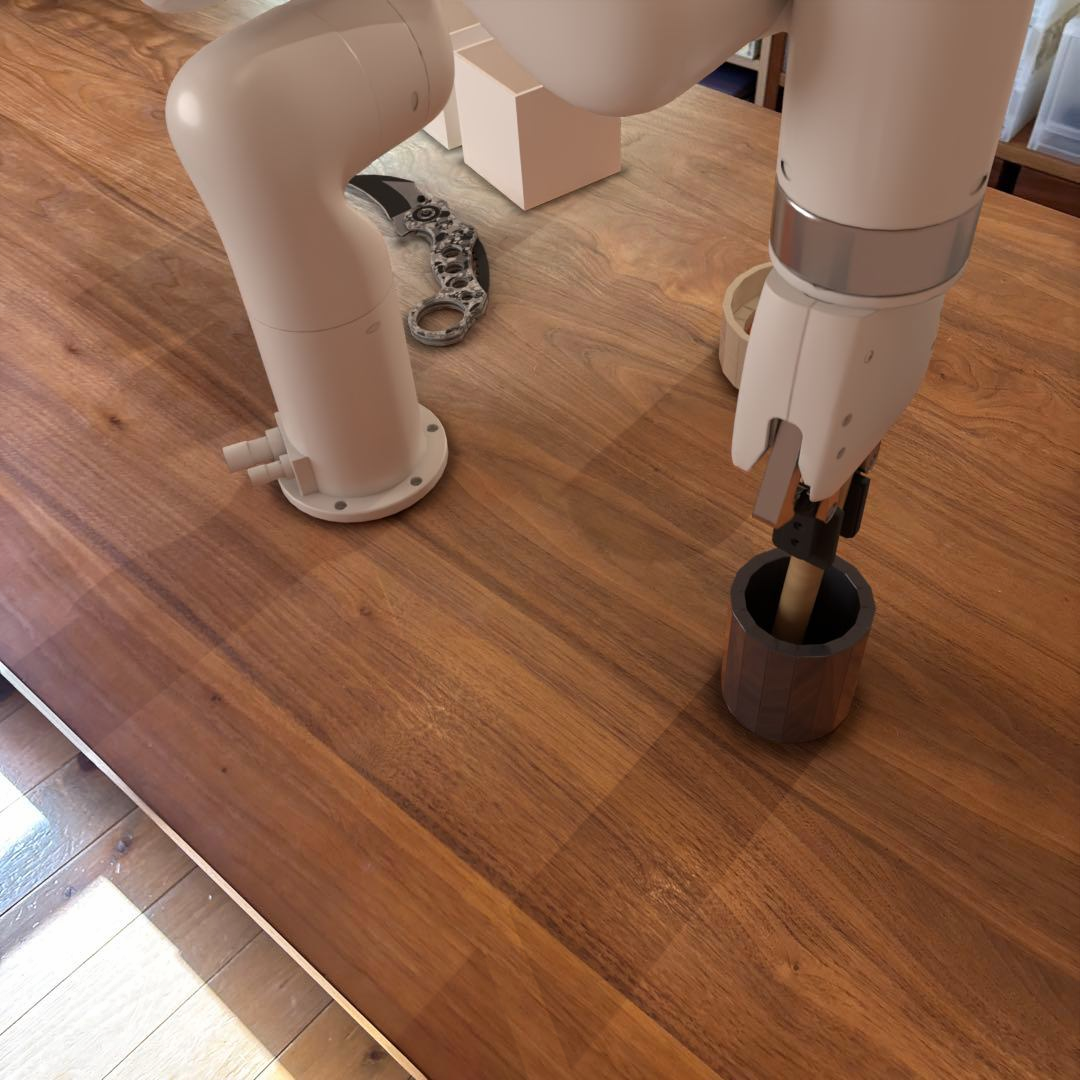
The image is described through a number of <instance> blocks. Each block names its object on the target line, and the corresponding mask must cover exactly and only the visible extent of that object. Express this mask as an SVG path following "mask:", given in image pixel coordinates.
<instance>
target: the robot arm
mask: <svg viewBox="0 0 1080 1080" xmlns="http://www.w3.org/2000/svg"><path fill="white" fill-rule="evenodd" d="M224 1H226V0H140V2H142V3H143V4H144V5H145V6H147V7H149V8H151V9H153V10H155V11H157V12H160V13H163V14H170V15H182V14H183V15H184V14H189V13H195V12H199V11H202V10H205V9H208V8H211V7H213V6H215V5H218V4H220V3H223V2H224ZM460 1H461V2H462V3H463V4H464V5H465V6H466V7H467V9H468V10H469V11H470V12H471V13H472V14H473V15H474V17H475V18H476V19H477V20H478V21H479V22H480V24H481V25H482V26H483V27H484V28H485V29H486V30H487V32H488V33H489V34H490V35H491V36H492V37H493V38H494V39H495V40H496V41H497V42H498V44H499V45H500V46H501V47H502V48H503V49H504V50H505V51H506V52H507V53H508V54H509V55H510V56H511V57H512V58H513V59H514V60H515V61H516V62H517V63H518V64H519V65H520V66H521V67H522V68H523V69H524V70H525V71H526V72H527V73H528V74H530V75H531V76H532V77H533V78H534V79H535V80H537V81H538V82H539V83H540V84H541V85H543V86H544V87H545V88H547V89H548V90H549V91H551V92H552V93H554V94H555V95H557V96H558V97H560V98H562V99H563V100H565V101H566V102H568V103H569V104H572V105H574V106H576V107H578V108H581V109H583V110H586V111H588V112H591V113H594V114H598V115H604V116H613V117H621V118H626V117H631V116H636V115H637V116H638V115H641V114H647V113H651V112H653V111H655V110H657V109H659V108H663V107H664V106H666V105H668V104H670V103H672V102H673V101H674V100H676V99H677V98H679V97H680V96H682V95H684V94H685V93H686V92H688V91H689V90H690V89H692V88H693V87H694V86H695V85H698V83H700V82H701V81H703V80H704V79H705V78H706V77H708V76H709V75H710V74H712V73H713V72H714V71H716V70H717V69H718V68H719V67H720V66H722V65H723V64H724V63H725V62H727V61H728V60H729V59H730V58H732V56H734V55H736V54H737V53H738V52H739V51H740V50H741V49H743V48H744V47H745V46H747V45H748V44H750V43H753V42H756V41H759V40H761V39H765V38H768V37H771V36H773V35H777V34H780V33H786V34H789V39H788V49H787V58H786V68H785V69H786V70H785V79H784V89H783V99H782V109H781V120H780V129H779V139H778V148H777V149H778V150H777V160H776V167H775V168H776V169H775V178H774V188H773V197H772V206H771V207H772V209H771V219H770V226H769V227H770V228H769V239H768V255H769V259H770V261H771V262H772V264H773V266H774V267H773V268H772V270H771V271H770V273H769V274H768V276H767V278H766V280H765V283H764V286H763V289H762V293H761V296H760V299H759V303H758V306H757V309H756V313H755V317H754V321H753V325H752V328H751V332H750V336H749V341H748V345H747V350H746V355H745V360H744V366H743V371H742V377H741V383H740V389H738V394H737V401H736V408H735V416H734V423H733V431H732V439H731V440H732V441H731V453H730V454H731V460H732V464H733V465H734V467H736V468H737V469H740V470H742V471H744V472H746V473H749V472H750V471H751V470H752V468H754V467H755V465H756V464H757V463H758V462H759V461H760V460H761V459H762V458H763V457H764V456H765V454H766V453H768V451H769V450H770V449H771V451H770V454H769V457H768V460H767V464H766V467H765V470H764V472H763V476H762V479H761V483H760V486H759V489H758V491H757V492H758V493H757V495H756V499H755V502H754V505H753V508H752V512H751V518H752V519H754V520H756V521H757V522H760V523H762V524H765V525H766V526H768V527H770V528H773V529H772V535H771V542H772V544H773V545H774V547H775V548H779V549H781V550H783V551H785V552H787V553H788V554H790V555H791V556H793V557H795V558H797V559H800V560H803V561H806V562H808V563H810V564H812V565H814V566H816V567H818V568H820V569H822V570H828V569H829V568H830V567H831V565H832V564H833V563H834V560H835V556H836V555H837V550H838V547H839V546H838V545H839V540H840V537H842V538H844V539H853V538H855V537H856V535H857V534H858V532H859V531H860V529H861V525H862V521H863V516H864V511H865V507H866V502H867V498H868V494H869V488H870V484H871V480H872V478H871V477H868V476H865V475H869V474H870V473H871V471H872V470H873V468H874V467H875V465H876V462H877V461H878V457H879V452H880V449H881V444H882V439H884V437H885V436H886V434H887V433H888V432H889V431H890V430H891V428H892V427H893V426H894V425H895V424H896V423H897V421H898V420H899V419H900V417H901V416H902V415H903V414H904V412H905V411H906V410H907V408H908V407H909V406H910V404H911V403H912V402H913V400H914V399H915V397H916V395H917V394H918V392H919V390H920V388H921V387H922V384H923V382H924V379H925V377H926V374H927V371H928V368H929V365H930V361H931V359H932V355H933V352H934V348H935V343H936V340H937V335H938V331H939V327H940V323H941V317H942V313H943V308H944V302H945V298H946V297H945V296H946V293H947V292H949V290H951V289H952V288H953V287H955V285H956V284H957V283H958V282H959V281H960V280H961V279H962V278H963V276H964V273H965V271H966V269H967V266H968V262H969V258H970V253H971V250H972V245H973V241H974V239H975V234H976V230H977V226H978V222H979V219H980V215H981V211H982V209H983V208H982V207H983V205H984V204H983V203H984V200H985V195H986V191H987V186H988V182H989V178H990V176H991V171H992V167H993V164H994V159H995V156H996V152H997V149H998V145H999V142H1000V138H1001V134H1002V129H1003V126H1004V123H1005V119H1006V115H1007V111H1008V108H1009V104H1010V100H1011V96H1012V92H1013V89H1014V85H1015V81H1016V77H1017V73H1018V70H1019V66H1020V62H1021V57H1022V54H1023V51H1024V46H1025V42H1026V38H1027V35H1028V32H1029V31H1028V30H1029V27H1030V23H1031V20H1032V16H1033V12H1034V8H1035V4H1036V0H460ZM454 78H455V62H454V53H453V47H452V43H451V39H450V35H449V31H448V27H447V24H446V21H445V18H444V15H443V12H442V9H441V6H440V3H439V1H438V0H288V1H286V2H284V3H283V4H279V5H276V6H274V7H272V8H270V9H267V11H264V12H262V13H260V14H259V15H256V16H255V17H253V18H251V19H249V20H247V21H246V22H244V23H241V24H240V25H238V26H236V27H234V28H232V29H231V30H229V31H226V32H225V33H223V34H221V35H219V36H218V37H217V38H215V39H213V40H212V41H210V42H208V43H206V44H205V45H204V46H203V47H202V48H200V49H199V50H198V51H196V52H195V53H194V54H193V55H192V56H191V57H189V59H188V60H186V62H184V64H183V65H182V66H181V67H180V68H179V70H178V71H177V72H176V74H175V75H174V77H173V80H172V81H171V84H170V85H169V88H168V91H167V95H166V100H165V107H164V113H165V114H164V115H165V122H166V123H165V124H166V129H167V132H168V136H169V138H170V141H171V143H172V146H173V149H174V150H175V153H176V155H177V157H178V159H179V161H180V163H181V164H182V167H183V168H184V170H185V172H186V174H187V176H188V177H189V179H190V181H191V182H192V184H193V187H195V190H196V192H197V193H198V196H199V197H200V198H201V200H202V203H203V205H204V207H205V209H206V210H207V213H208V214H209V217H210V218H211V220H212V223H213V224H214V227H215V230H216V231H217V233H218V235H219V238H220V240H221V243H222V246H223V248H224V250H225V253H226V255H227V258H228V261H229V264H230V267H231V270H232V272H233V275H234V278H235V281H236V284H237V287H238V290H239V293H240V297H241V299H242V302H243V305H244V308H245V311H246V314H247V318H248V320H249V323H250V326H251V331H252V333H253V336H254V339H255V342H256V345H257V349H258V351H259V355H260V357H261V361H262V364H263V367H264V370H265V373H266V376H267V379H268V383H269V385H270V388H271V393H272V395H273V398H274V401H275V404H276V408H277V410H278V411H276V412H274V413H273V415H274V418H275V421H276V424H277V426H275V427H272V428H269V429H266V430H264V433H265V436H261V437H257V438H255V439H252V440H248V441H247V440H243V441H240V442H237V443H233V444H230V445H226V446H223V447H221V449H222V452H223V456H224V459H225V463H226V465H227V467H228V470H229V473H230V474H233V473H237V472H240V471H244V470H247V474H248V477H249V480H250V483H251V485H252V488H253V489H254V488H256V487H260V486H263V485H266V484H270V483H271V482H273V481H278V484H279V486H280V489H281V491H282V493H283V495H284V496H285V497H286V498H287V500H288V501H289V502H290V503H291V504H292V505H293V506H294V507H296V508H297V510H299V511H301V512H303V513H304V514H307V515H308V516H310V517H312V518H318V519H320V520H324V521H328V522H336V523H364V522H368V521H375V520H379V519H383V518H386V517H389V516H392V515H396V514H397V513H399V512H402V511H403V510H405V509H408V508H410V507H411V506H413V505H414V504H416V503H417V502H419V501H420V500H421V499H423V498H424V497H425V496H426V495H427V494H428V493H430V491H432V489H434V488H435V486H436V485H437V484H438V482H439V480H441V478H442V476H443V474H444V472H445V469H446V466H447V464H448V458H449V447H448V439H447V435H446V431H445V428H444V426H443V424H442V422H441V421H440V419H439V418H438V417H437V416H436V415H435V414H434V412H432V411H431V410H430V409H429V408H427V407H425V406H424V405H423V404H421V403H419V400H418V394H417V389H416V385H415V384H416V383H415V379H414V375H413V369H412V364H411V359H410V355H409V349H408V344H407V338H406V334H405V333H406V332H405V328H404V327H405V326H404V322H403V317H402V312H401V307H400V301H399V297H398V291H397V287H396V282H395V277H394V272H393V268H392V263H391V257H390V253H389V250H388V247H387V243H386V241H385V239H384V236H383V234H382V233H381V231H380V229H379V227H378V226H377V225H376V224H375V223H374V221H373V220H372V219H371V218H370V217H369V216H368V215H366V214H365V213H364V212H363V211H361V210H360V209H358V208H357V207H355V206H353V205H351V204H350V203H349V202H348V199H347V198H346V193H345V192H346V187H347V186H348V182H349V181H350V180H351V179H352V178H353V177H354V176H355V175H359V173H361V172H363V171H364V170H365V169H367V168H369V166H371V164H372V163H374V162H375V161H376V160H378V159H380V158H381V157H382V156H384V155H385V154H387V153H388V152H390V151H392V150H393V149H395V148H396V147H397V146H399V145H400V144H402V143H404V142H405V141H407V140H408V139H410V138H411V137H413V136H414V135H416V134H417V133H419V132H420V131H422V130H423V128H424V127H425V126H427V125H428V124H429V123H430V122H432V121H433V120H434V119H435V118H436V117H437V116H438V115H439V114H440V113H441V112H442V110H443V109H444V108H445V106H446V104H447V103H448V101H449V99H450V96H451V93H452V90H453V85H454ZM271 460H274V461H271ZM269 461H271V462H269ZM265 462H269V463H265ZM853 473H854V474H853ZM861 473H862V474H861ZM852 474H853V477H852V481H851V484H850V487H849V490H848V494H847V497H846V500H845V504H844V507H843V510H842V509H841V508H839V507H838V502H839V497H840V492H841V486H842V485H843V484H844V483H845V482H846V481H847V480H848V479H849V477H850V476H851V475H852ZM863 474H865V475H863ZM801 478H802V482H801ZM810 486H811V487H810Z"/></svg>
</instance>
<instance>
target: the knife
mask: <svg viewBox="0 0 1080 1080" xmlns="http://www.w3.org/2000/svg"><path fill="white" fill-rule="evenodd" d="M347 186H351V187H353V188H355V189H356V190H359V191H360V192H362V193H364V194H365V195H366V196H368V197H369V198H370V199H371V200H373V201H374V202H375V203H376V204H378V206H380V207H381V208H382V210H383V211H384V213H385V215H386V216H387V218H388V220H391V221H392V225H393V229H394V232H395V233H396V235H397V236H398V237H399V238H401V239H403V238H405V237H406V236H408V235H409V236H410V237H418V236H420V237H424V238H426V240H427V242H428V244H429V246H430V251H429V253H430V255H429V258H430V259H429V262H430V266H431V271H432V274H433V277H434V278H435V280H436V281H437V282H438V284H439V285H440V286H441V288H440V291H439V292H437V293H436V294H433V295H432V296H429V297H426V298H424V299H422V300H420V301H419V302H418V303H416V304H415V305H414V306H413V307H412V308H411V309H410V311H409V312H408V315H407V322H408V327H409V332H410V333H411V335H412V337H413V338H414V339H415V340H417V341H418V342H420V343H423V344H425V345H427V346H435V347H438V346H448V345H452V344H456V343H458V342H461V341H462V340H463V339H464V337H465V335H466V333H467V332H468V330H469V328H470V327H471V326H472V325H473V324H474V323H475V322H476V321H477V320H478V319H480V318H481V317H483V316H484V313H485V311H486V309H487V306H488V304H489V299H488V296H489V290H490V276H491V275H490V264H489V259H488V255H487V251H486V249H485V248H484V245H483V243H482V241H481V240H480V237H479V232H478V230H477V228H476V227H475V226H473V225H471V224H468V223H467V222H464V221H462V220H461V219H459V218H458V217H456V216H455V214H454V213H452V210H451V209H450V207H449V203H448V201H447V200H445V199H442V198H439V197H437V196H432V197H430V198H429V197H428V196H426V195H425V194H423V192H422V191H420V189H419V188H418V187H417V185H416V182H415V181H413V180H410V179H406V178H401V177H397V176H393V175H385V174H374V173H373V174H357V175H355V176H354V177H353V178H352V179H351V180H350V181H349V182H348V184H347ZM451 256H452V257H451ZM473 261H474V265H475V267H476V269H474V270H475V274H474V271H473ZM475 275H476V276H475ZM441 309H454V310H456V311H459V312H461V313H462V314H463V317H462V319H461V320H460V321H459V322H458V323H457V324H456V325H454V326H452V327H449V328H447V329H443V330H435V331H432V330H426V329H423V328H422V327H420V326H419V322H420V320H421V319H422V318H423V317H424V316H426V315H427V314H429V313H431V312H434V311H436V310H441Z"/></svg>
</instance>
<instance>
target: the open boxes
mask: <svg viewBox="0 0 1080 1080" xmlns="http://www.w3.org/2000/svg"><path fill="white" fill-rule="evenodd" d="M438 1H439V3H440V6H441V9H442V12H443V15H444V18H445V21H446V24H447V27H448V31H449V35H450V39H451V43H452V47H453V53H454V62H455V78H454V85H453V90H452V93H451V96H450V99H449V101H448V103H447V104H446V106H445V108H444V109H443V110H442V112H441V113H440V114H439V115H438V116H437V117H436V118H435V119H434V120H433V121H432V122H430V123H429V124H428V125H427V126H425V127H424V128H423V129H422V130H423V131H424V132H426V133H427V134H428V135H429V136H431V138H433V139H434V140H435V141H436V142H438V143H439V144H441V145H442V146H443V147H444V148H445V149H446V150H448V151H451V150H453V149H456V148H459V147H461V146H462V153H463V154H462V155H463V162H464V164H465V165H466V166H468V167H469V168H470V169H472V170H473V171H474V172H475V173H477V174H478V175H479V176H481V178H483V179H484V180H485V181H486V182H488V183H489V184H490V185H492V186H493V187H494V188H495V189H496V190H497V191H499V192H500V193H502V194H503V195H504V196H505V197H506V198H507V199H509V200H510V201H511V202H512V203H514V204H515V205H517V207H519V208H520V209H522V211H524V212H525V211H528V210H531V209H533V208H535V207H538V206H540V205H543V204H545V203H547V202H550V201H552V200H554V199H557V198H559V197H561V196H564V195H566V194H569V193H571V192H574V191H576V190H579V189H581V188H584V187H585V186H588V185H590V184H594V183H596V182H598V181H601V180H603V179H605V178H607V177H610V176H612V175H615V174H617V173H619V172H621V171H622V143H621V142H622V140H621V139H622V138H621V137H622V136H621V135H622V134H621V133H622V130H621V129H622V128H621V127H622V126H621V125H622V124H621V123H622V121H621V120H622V119H621V118H622V117H613V116H604V115H598V114H594V113H591V112H588V111H586V110H583V109H581V108H578V107H576V106H574V105H572V104H569V103H568V102H566V101H565V100H563V99H562V98H560V97H558V96H557V95H555V94H554V93H552V92H551V91H549V90H548V89H547V88H545V87H544V86H543V85H541V84H540V83H539V82H538V81H537V80H535V79H534V78H533V77H532V76H531V75H530V74H528V73H527V72H526V71H525V70H524V69H523V68H522V67H521V66H520V65H519V64H518V63H517V62H516V61H515V60H514V59H513V58H512V57H511V56H510V55H509V54H508V53H507V52H506V51H505V50H504V49H503V48H502V47H501V46H500V45H499V44H498V42H497V41H496V40H495V39H494V38H493V37H492V36H491V35H490V34H489V33H488V32H487V30H486V29H485V28H484V27H483V26H482V25H481V24H480V22H479V21H478V20H477V19H476V18H475V17H474V15H473V14H472V13H471V12H470V11H469V10H468V9H467V7H466V6H465V5H464V4H463V3H462V2H461V1H460V0H438Z"/></svg>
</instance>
